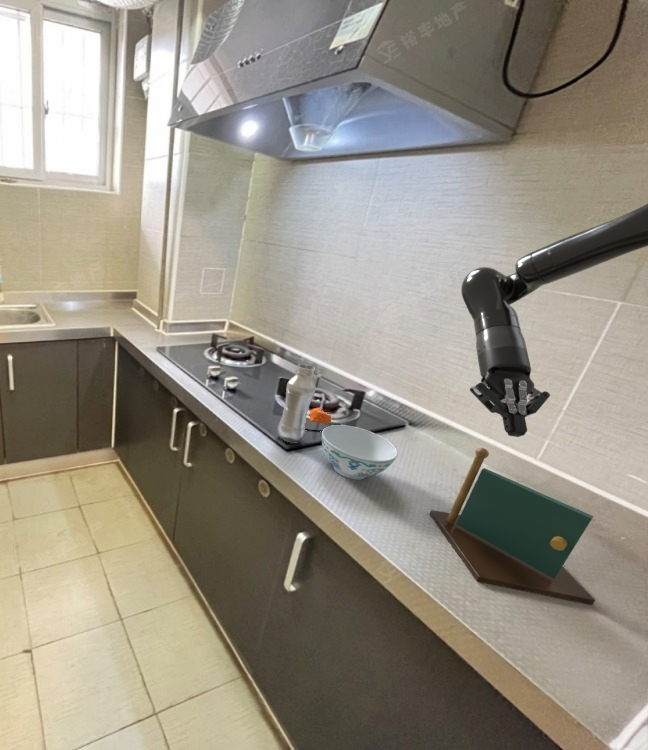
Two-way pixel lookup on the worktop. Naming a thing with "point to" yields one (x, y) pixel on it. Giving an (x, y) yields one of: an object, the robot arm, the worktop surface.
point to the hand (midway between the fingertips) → (517, 435)
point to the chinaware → (357, 451)
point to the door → (523, 522)
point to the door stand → (501, 554)
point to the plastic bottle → (297, 404)
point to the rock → (319, 416)
